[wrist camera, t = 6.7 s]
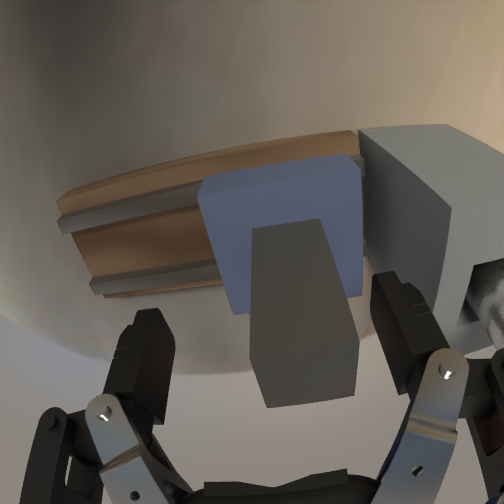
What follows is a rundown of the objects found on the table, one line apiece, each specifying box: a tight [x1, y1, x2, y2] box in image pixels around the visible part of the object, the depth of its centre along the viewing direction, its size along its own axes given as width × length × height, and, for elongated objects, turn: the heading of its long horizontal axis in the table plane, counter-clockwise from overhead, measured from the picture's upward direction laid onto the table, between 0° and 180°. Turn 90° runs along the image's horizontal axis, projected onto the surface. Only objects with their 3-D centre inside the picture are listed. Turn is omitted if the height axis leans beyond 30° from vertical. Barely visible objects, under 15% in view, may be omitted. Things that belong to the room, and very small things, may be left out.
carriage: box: [197, 154, 363, 408], centre depth 13 cm, size 7×7×9 cm
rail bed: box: [56, 130, 366, 298], centre depth 19 cm, size 8×18×2 cm, turn 101°
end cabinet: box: [358, 124, 504, 355], centre depth 14 cm, size 8×6×10 cm
